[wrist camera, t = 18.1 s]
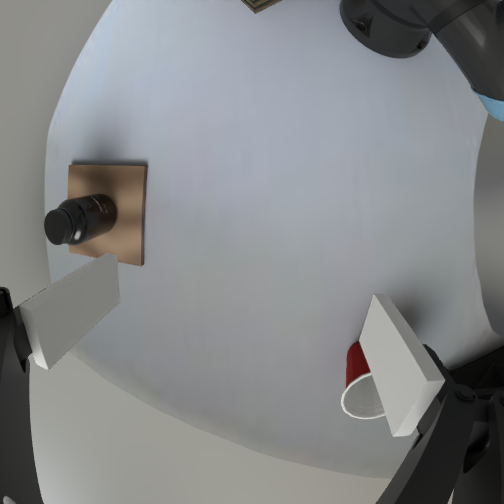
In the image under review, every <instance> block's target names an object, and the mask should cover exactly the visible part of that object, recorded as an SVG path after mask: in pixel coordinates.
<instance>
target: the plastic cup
mask: <svg viewBox="0 0 504 504" xmlns="http://www.w3.org/2000/svg"><path fill="white" fill-rule="evenodd" d="M341 405H342V408H343V410H344V412H346V413H347V414H349V415H350V416H352V417H355V418H360V419H372V418H378V417H381V416H384V415H386V414H385V411H384V408H383V405H382V402H381V399H380V396H379V393H378V391H377V388H376V385H375V382H374V379H373V376H372V374H371V371H370V368H369V366H368V363H367V360H366V358H365V355H364V352H363V350H362V347H361V344H360V342H357V343H355V344H354V345H353V346H351V347H350V349H349V351H348V354H347V368H346V389H345V390H344V392H343V394H342V399H341Z"/></svg>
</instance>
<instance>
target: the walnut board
mask: <svg viewBox="0 0 504 504" xmlns="http://www.w3.org/2000/svg"><path fill="white" fill-rule="evenodd" d="M146 179H147V166H130V165H69V172H68V199H71V198H76V197H81V196H87V195H92V194H99V193H101V194H105V195H107V196H108V197H110V198H111V199H112V201H113V202H114V204H115V207H116V211H117V219H116V223H115V225H114V227H113V228H112V229H111V230H110V231H109V232H108V233H106V234H103V235H101V236H98V237H96V238H94V239H91V240H89V241H86V242H84V243H82V244H79V245H75V246H72V245H69V250H70V252H71V253H76V254H80V255H85V256H90V257H95V258H98V257H100V256H102V255H104V254H106V253H107V254H113V255H118V262H121V263H127V264H132V265H137V266H142V265H144V216H145V195H146Z"/></svg>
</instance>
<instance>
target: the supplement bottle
mask: <svg viewBox="0 0 504 504" xmlns="http://www.w3.org/2000/svg"><path fill="white" fill-rule="evenodd" d="M116 219H117V211H116V207H115V204H114V202H113V201H112V199H111V198H110V197H108V196H107V195H105V194H101V193H99V194H92V195H87V196H81V197H76V198H71V199H67V200H65V201H63V202H62V203H61V204H60V205H59V207H58V208H57V209H55V210H52V211H50V212H49V213H48V214H47V216H46V218H45V221H44V229H45V233H46V236H47V238H48V239H49V241H50V242H51V243H53V244H55V245H61V244H64V243H66V244H68V245H72V246H75V245H79V244H82V243H84V242H86V241H89V240H91V239H94V238H96V237H98V236H101V235H103V234H106V233H108V232H109V231H110V230H111V229H112V228H113V227H114V225H115V223H116Z"/></svg>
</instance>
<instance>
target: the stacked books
mask: <svg viewBox="0 0 504 504" xmlns="http://www.w3.org/2000/svg"><path fill="white" fill-rule="evenodd" d="M241 1H242V2H243V3H244V4H246V5H247V6H248V7H249V8H250V9H251V10H252V11H253V12H254V13H255V14H256V13H258V12H260V11H262V10H264V9H266V8H268V7H270V6H272V5H274V4H276V3H278V2H280V1H282V0H241Z"/></svg>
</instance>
